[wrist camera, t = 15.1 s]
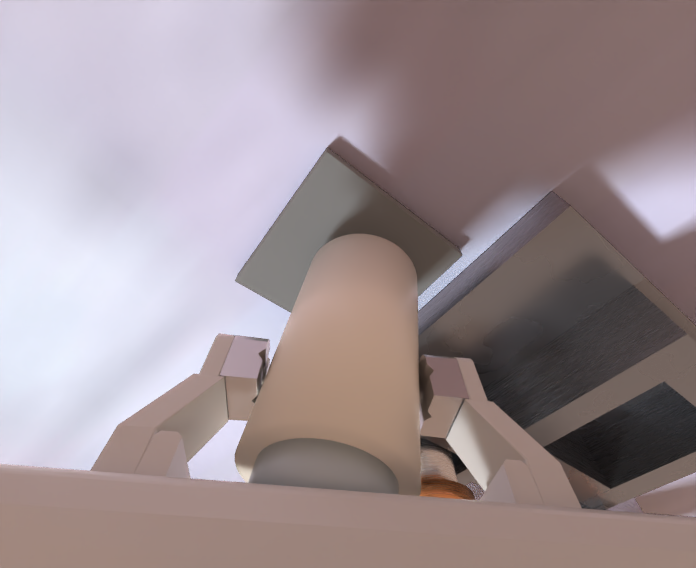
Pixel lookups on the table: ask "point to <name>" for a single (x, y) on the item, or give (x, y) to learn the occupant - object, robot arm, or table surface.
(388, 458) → the cylinder
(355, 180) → the mat
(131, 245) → the table surface
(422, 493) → the plunger
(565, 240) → the housing
